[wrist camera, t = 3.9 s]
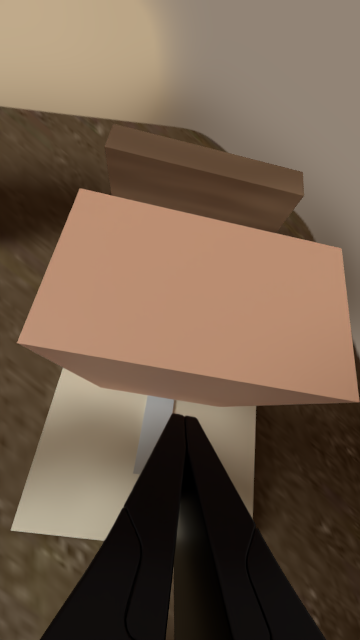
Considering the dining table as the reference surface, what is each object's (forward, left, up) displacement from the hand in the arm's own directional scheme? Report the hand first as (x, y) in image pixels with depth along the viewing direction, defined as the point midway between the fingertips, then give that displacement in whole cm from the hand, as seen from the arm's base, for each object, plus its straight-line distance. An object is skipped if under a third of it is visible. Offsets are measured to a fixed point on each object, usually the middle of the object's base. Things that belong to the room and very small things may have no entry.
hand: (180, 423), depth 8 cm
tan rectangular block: (+3, 0, -6) cm, 7 cm away
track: (+4, 0, -8) cm, 9 cm away
